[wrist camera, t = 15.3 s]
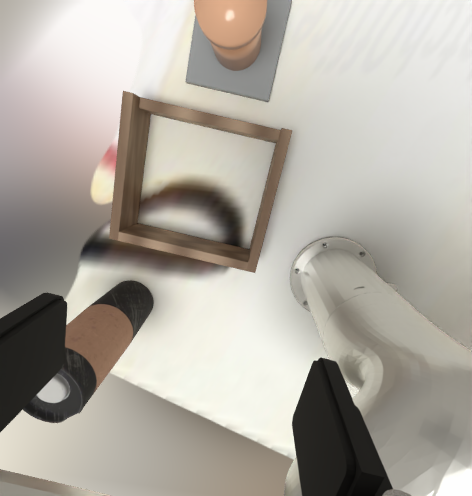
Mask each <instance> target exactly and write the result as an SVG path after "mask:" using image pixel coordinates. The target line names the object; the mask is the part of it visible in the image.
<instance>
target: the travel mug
mask: <svg viewBox="0 0 472 496" xmlns="http://www.w3.org/2000/svg"><path fill="white" fill-rule="evenodd" d="M152 308H153V297H152V295H151V293H150V291H149V290H148V289H147V288H146V287H145V286H144V285H142V284H141V283H139V282H135V281H125V282H122V283H120V284H118V285H117V286H115V287H114V288H113V289H111V290H110V291H109V292H107V293H106V294H105V295H103V296H102V297H101V298H99V299H98V300H97V301H96V302H94V303H93V304H92V305H90V306H89V307H88V308H87V309H85V310H84V311H83V312H82V313H81V314H79V315H78V316H77V317H76V318H75V319H74V320H72V321H71V322H70V323H69V324H68V325H67V326H66V337H65V357H64V364H63V366H62V368H61V370H60V371H59V372H58V373H57V374H56V375H55V376H54V377H53V378H52V379H51V380H50V381H49V382H48V383H47V384H46V386H45V387H44V388H43V389H42V390H41V391H40V392H39V393H38V394H37V395H36V396H35V397H34V398H33V399H32V400H31V401H30V402H29V403H28V404H27V405H26V406H25V407H24V408H23V410H24V411H25V412H27V413H28V414H29V415H31V416H33V417H35V418H37V419H39V420H42V421H45V422H50V423H59V422H62V421H64V420H65V419H67V418H69V417H71V416H73V415H75V414H77V413H80V412H81V411H82V409H83V407H84V406H85V404H86V403H87V402H88V400H89V399H90V398H91V396H92V395H93V394H94V392H95V391H96V390H97V388H98V387H99V385H100V384H101V383H102V381H103V380H104V378H105V377H106V376H107V374H108V373H109V372H110V370H111V369H112V368H113V366H114V365H115V364H116V362H117V361H118V360H119V358H120V357H121V355H122V354H123V353H124V351H125V350H126V349H127V347H128V346H129V344H130V343H131V341H132V340H133V338H134V337H135V335H136V334H137V332H138V331H139V329H140V328H141V326H142V325H143V323H144V322H145V320H146V319H147V317H148V315H149V314H150V312H151V310H152Z"/></svg>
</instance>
